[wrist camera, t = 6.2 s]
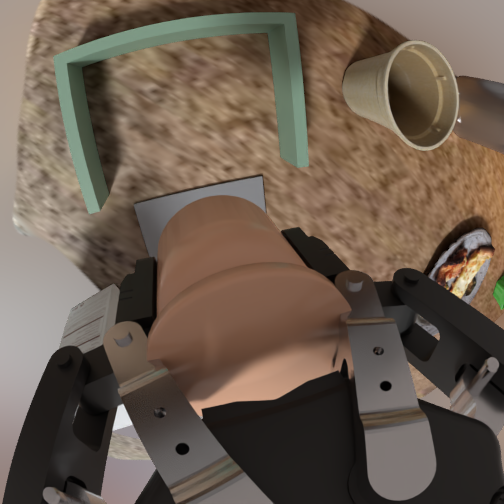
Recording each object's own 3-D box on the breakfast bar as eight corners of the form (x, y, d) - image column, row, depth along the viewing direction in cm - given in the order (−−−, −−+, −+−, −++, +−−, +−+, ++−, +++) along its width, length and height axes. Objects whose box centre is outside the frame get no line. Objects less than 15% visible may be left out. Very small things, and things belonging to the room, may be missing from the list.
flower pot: (357, 28, 21) (418, 18, 14) (411, 88, 25) (470, 98, 18) (308, 91, 24) (364, 95, 16) (370, 148, 28) (427, 171, 21)
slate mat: (261, 175, 27) (262, 176, 27) (268, 248, 31) (269, 249, 31) (133, 204, 25) (133, 204, 25) (156, 275, 29) (156, 276, 29)
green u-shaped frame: (277, 23, 19) (295, 12, 16) (290, 155, 26) (308, 166, 23) (70, 61, 17) (53, 56, 13) (99, 197, 23) (89, 214, 20)
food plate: (453, 209, 36) (469, 220, 33) (496, 236, 45) (508, 245, 42) (379, 334, 47) (389, 348, 44) (440, 328, 56) (449, 338, 53)
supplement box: (153, 324, 32) (159, 419, 22) (108, 346, 32) (102, 435, 22) (114, 279, 28) (99, 379, 17) (68, 307, 28) (45, 400, 17)
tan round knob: (281, 177, 11) (369, 252, 6) (285, 291, 14) (339, 387, 9) (134, 204, 10) (109, 309, 5) (169, 317, 13) (181, 430, 8)
